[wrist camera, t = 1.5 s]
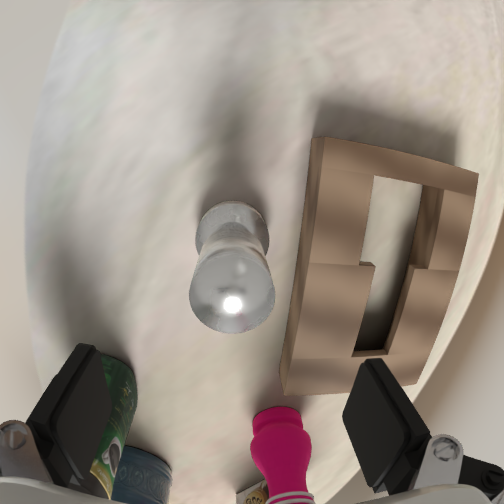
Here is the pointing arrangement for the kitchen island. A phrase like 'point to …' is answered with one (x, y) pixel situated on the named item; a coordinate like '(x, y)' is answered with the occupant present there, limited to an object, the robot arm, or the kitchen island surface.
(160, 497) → the canister
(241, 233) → the steel peg
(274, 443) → the pepper mill
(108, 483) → the coffee jar
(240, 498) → the coffee box
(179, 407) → the kitchen island surface
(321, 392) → the keyhole board
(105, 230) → the kitchen island surface
